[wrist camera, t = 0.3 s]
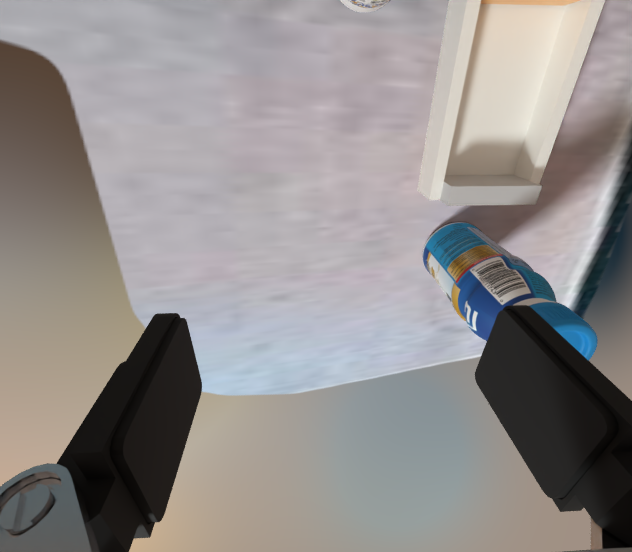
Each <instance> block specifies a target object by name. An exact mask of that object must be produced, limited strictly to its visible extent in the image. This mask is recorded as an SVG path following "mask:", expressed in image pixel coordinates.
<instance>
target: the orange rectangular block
mask: <svg viewBox="0 0 632 552" xmlns="http://www.w3.org/2000/svg"><path fill="white" fill-rule="evenodd" d="M577 1H580V0H481V4H513V5H558V6H564V5H568V4H571V3H574V2H577Z"/></svg>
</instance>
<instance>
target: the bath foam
mask: <svg viewBox="0 0 632 552" xmlns="http://www.w3.org/2000/svg"><path fill="white" fill-rule="evenodd" d="M340 1H341V2H342V3H343V4H344V5H345V6H346V7H348V8H349V9H351V10H354V11H356V12H362V13H367V12H372V11H375V10H378V9H380V8H381V7H383V6H384V5H386V4H387V3H388V2H389V1H390V0H340Z"/></svg>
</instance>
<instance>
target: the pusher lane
mask: <svg viewBox="0 0 632 552" xmlns="http://www.w3.org/2000/svg"><path fill="white" fill-rule="evenodd" d="M604 2H605V0H580V1H577V2H574V3H571V4H568V5H564V6H558V5H513V4H481V0H449V3H448V9H447V15H446V21H445V27H444V33H443V39H442V45H441V51H440V57H439V63H438V69H437V75H436V81H435V87H434V93H433V99H432V105H431V111H430V117H429V123H428V129H427V135H426V141H425V147H424V153H423V159H422V165H421V171H420V177H419V183H418V189H417V191H419V192H420V193H421V194H422V195H424V196H425V197H426V198H427V199H428V200H441V201H442V202H443V203H445V204H446V205H447V206H467V205H536V202H537V199H538V196H539V194H540V191H541V188H542V185H539V184H540V181H541V178H542V176H543V173H544V170H545V167H546V164H547V162H548V159H549V156H550V153H551V150H552V148H553V145H554V142H555V139H556V137H557V134H558V131H559V128H560V125H561V123H562V120H563V117H564V114H565V111H566V109H567V106H568V103H569V100H570V97H571V95H572V92H573V89H574V86H575V83H576V81H577V78H578V75H579V72H580V69H581V67H582V64H583V61H584V58H585V55H586V53H587V50H588V47H589V44H590V41H591V39H592V36H593V33H594V30H595V27H596V25H597V22H598V19H599V16H600V13H601V11H602V8H603V5H604Z"/></svg>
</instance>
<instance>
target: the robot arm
mask: <svg viewBox="0 0 632 552" xmlns="http://www.w3.org/2000/svg"><path fill="white" fill-rule="evenodd" d="M475 379H476V382H477V385H478V386H479V388H480V389H481V391H482V393H483V394H484V396H485V398H486V399H487V401H488V402H489V404H490V406H491V407H492V409H493V411H494V412H495V414H496V415H497V417H498V419H499V420H500V422H501V424H502V425H503V427H504V428H505V430H506V432H507V433H508V435H509V437H510V438H511V440H512V441H513V443H514V445H515V446H516V448H517V450H518V451H519V453H520V454H521V456H522V458H523V459H524V461H525V463H526V464H527V466H528V468H529V469H530V471H531V472H532V474H533V476H534V477H535V479H536V481H537V482H538V484H539V485H540V487H541V489H542V490H543V491H544V493H545V494H546V495H547V496H548V497H550V498H552V499H553V501H554V502H555V504H556V505H557V507H558V509H559V510H560V512H564V511H580V510H582V509H583V508H585V509H586V511H587V512H588V513H589V515H590V516H591V550H582V551H581V550H580V551H564V552H632V401H631V400H630V399H629V398H628V397H627V396H626V395H625V394H624V393H622V392H621V391H620V390H619V389H618V388H617V387H616V386H615V385H614V384H613V383H612V382H611V381H610V380H608V379H607V378H606V377H605V376H604V375H603V374H602V373H601V372H600V371H599V370H598V369H596V367H595V366H593V364H591V363H590V362H589V361H588V360H587V359H586V358H585V357H584V356H583V355H582V354H581V353H580V352H579V351H577V350H576V349H575V348H574V347H573V346H572V345H571V344H570V343H569V342H568V341H567V340H566V339H565V338H564V337H562V336H561V335H560V334H559V333H558V332H557V331H556V330H555V329H554V328H553V327H552V326H551V325H550V324H549V323H547V322H546V321H545V320H544V319H543V318H542V317H541V316H540V315H539V314H538V313H537V312H536V311H535V310H533V309H532V308H531V307H530V306H527V305H508V306H505V307H504V308H503V310H502V311H500V312H499V313H498V314H497V317H496V319H495V322H494V325H493V327H492V330H491V332H490V335H489V338H488V340H487V343H486V346H485V348H484V351H483V353H482V356H481V359H480V361H479V364H478V366H477V369H476V372H475ZM201 391H202V382H201V378H200V374H199V369H198V365H197V361H196V357H195V353H194V349H193V345H192V341H191V337H190V333H189V329H188V325H187V321H186V319H185V318H180V316H179V314H177V313H166V314H155V315H154V317H153V318H152V320H151V321H150V323H149V325H148V326H147V328H146V329H145V331H144V333H143V334H142V336H141V338H140V339H139V341H138V343H137V344H136V346H135V347H134V349H133V351H132V352H131V354H130V356H129V357H128V359H127V361H125V362H123V363H121V364H120V365H119V366H118V367H117V369H116V370H115V372H114V373H113V375H112V377H111V378H110V380H109V381H108V383H107V385H106V386H105V388H104V389H103V391H102V393H101V394H100V396H99V397H98V399H97V400H96V402H95V404H94V405H93V407H92V408H91V410H90V412H89V413H88V415H87V416H86V418H85V419H84V421H83V423H82V424H81V426H80V427H79V429H78V430H77V432H76V434H75V435H74V437H73V438H72V440H71V442H70V443H69V445H68V446H67V448H66V450H65V451H64V453H63V454H62V456H61V457H60V459H59V461H58V462H57V464H43V465H40V466H35V467H32V468H30V469H28V470H26V471H24V472H21V473H19V474H18V475H16V476H15V477H13V478H12V479H10V480H9V481H7V482H6V483H4V484H3V485H2V486H1V487H0V552H129V549H130V547H131V544H132V541H133V539H134V538H148V537H150V536H151V533H152V530H153V527H154V524H155V522H160V521H161V520H162V518H163V516H164V513H165V510H166V507H167V504H168V500H169V497H170V493H171V491H172V487H173V484H174V481H175V477H176V474H177V471H178V467H179V464H180V461H181V458H182V454H183V451H184V448H185V445H186V441H187V438H188V435H189V431H190V428H191V425H192V421H193V418H194V415H195V412H196V409H197V405H198V402H199V399H200V395H201Z"/></svg>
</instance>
